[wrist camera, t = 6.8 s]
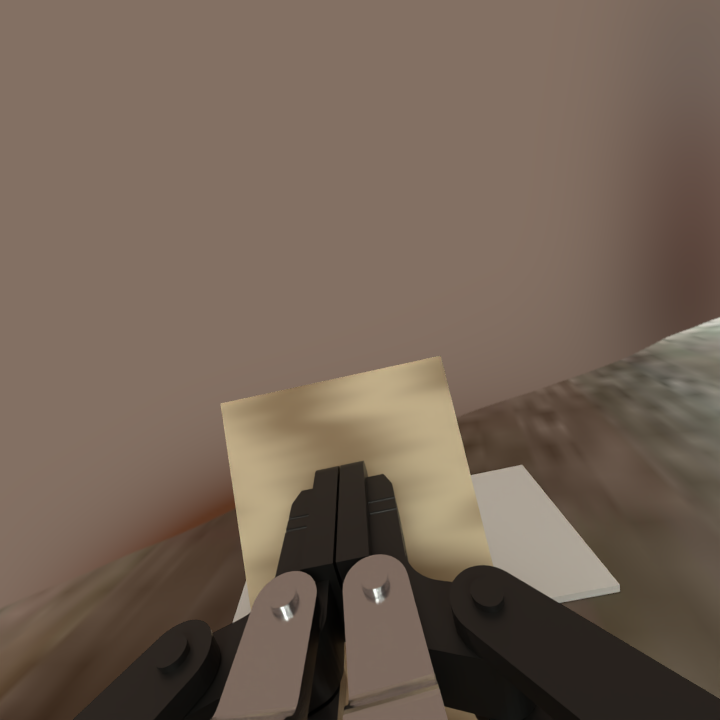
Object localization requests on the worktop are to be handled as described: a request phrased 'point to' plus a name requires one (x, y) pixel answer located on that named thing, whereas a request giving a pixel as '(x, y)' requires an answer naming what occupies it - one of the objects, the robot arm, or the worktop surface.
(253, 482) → the birch block
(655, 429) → the worktop surface
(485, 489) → the grey mat
